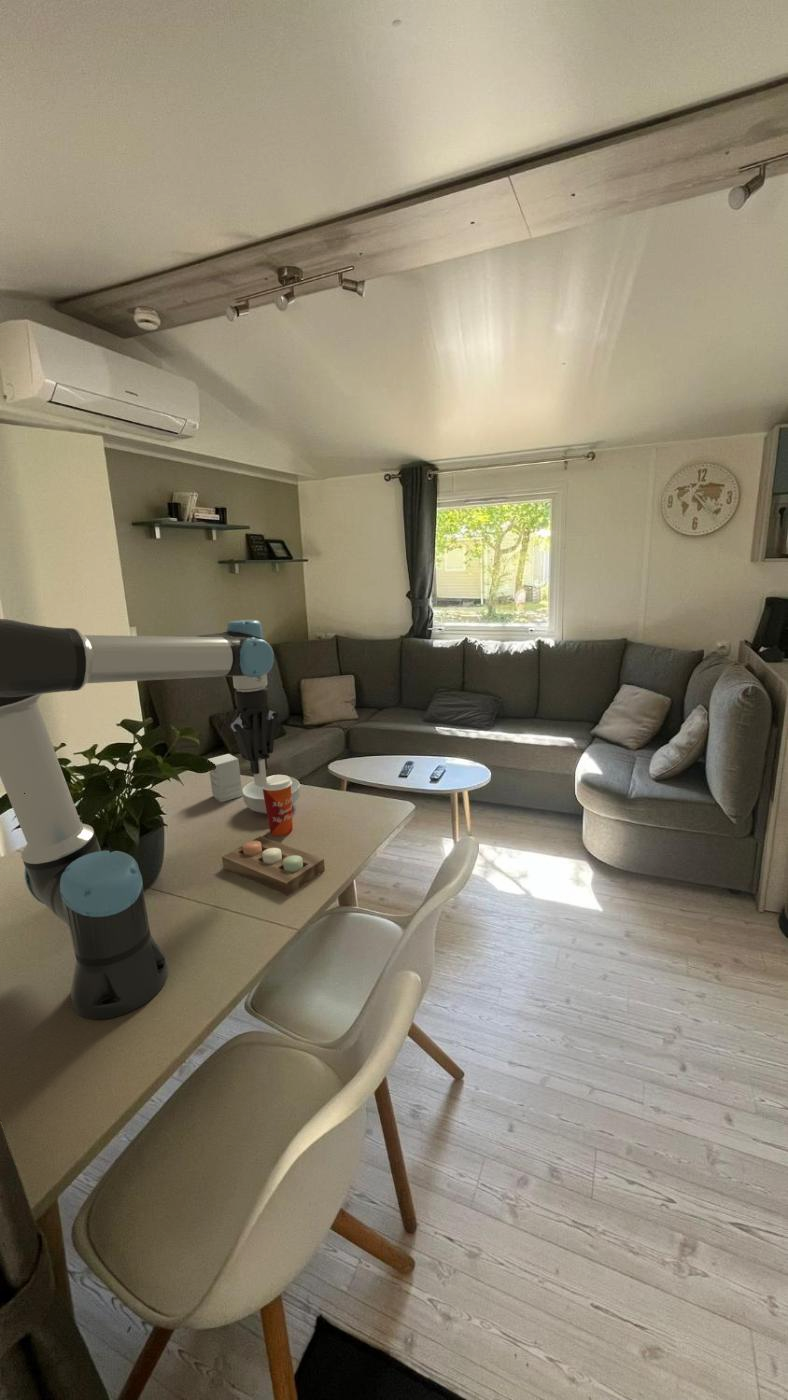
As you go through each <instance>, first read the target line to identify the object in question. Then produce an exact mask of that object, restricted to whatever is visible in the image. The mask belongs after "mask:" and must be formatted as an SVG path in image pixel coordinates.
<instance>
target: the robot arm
mask: <svg viewBox="0 0 788 1400" xmlns="http://www.w3.org/2000/svg"><path fill="white" fill-rule="evenodd" d="M226 626H227V627H226V631H225V632H224V631H223V632H216V633H207V634H201V635H200V634H199V635H196V634H194V635H192V636H174V635H171V636H169V635H167V636H166V635H165V636H164V635H161V636H160V635H159V636H158V635H150V636H149V635H108V634H107V635H104V634H103V635H97V634H96V635H95V634H89V635H88V634H82V632H80V631H79V630H78V629H77V628H73V627H71V628H69V627H52V626H46V625H39V624H38V625H37V624H31V623H28V622H27V623H26V622H23V621H22V622H21V621H17V620H13V619H12V620H11V619H5V618H0V779H1V783H2V785H3V787H4V790H5V792H6V795H7V797H8V799H9V802H10V805H11V808H12V809H13V811H14V815H15V816H16V818H17V822H18V824H19V827H20V829H21V831H22V834H23V836H24V838H25V839H24V840H25V841H26V845H25V847H24V848H23V850H22V851H21V856H20V857H21V860H22V863H23V864H24V880H25V881H24V882H25V884H26V887H27V889H28V890H29V893H30V894H31V896H33V897H34V899H35V900H37V901H38V902H39V903H40V904H42V905H44V906H45V907H46V908H48V909H49V910H50V911H51V912H52V913H53V914H55V916H56V917H58V918H59V919H60V920H61V921H62V922H63V923H65V924H66V926H67V927H68V929H69V930H68V931H69V933H70V937H71V943H72V946H73V951H74V957H75V966H74V970H73V975H72V977H73V978H72V984H71V987H70V988H71V989H70V998H71V1002H72V1007H73V1009H74V1011H75V1013H77V1014H78V1015H79V1016H80V1017H82V1018H86V1019H91V1020H106V1019H113V1018H116V1017H117V1018H118V1017H120V1016H123V1015H126V1014H129V1013H130V1012H131V1013H132V1012H133V1011H135V1010H137V1009H138V1008H140V1007H142V1006H143V1005H145V1004H146V1003H149V1002H150V1000H152V999H153V998H154V997H156V995H157V994H158V993H159V992H160V991H161V990H162V989H163V987H164V985H165V984H166V982H167V980H168V976H169V969H168V964H167V959H166V956H165V954H164V953H163V951H162V949H161V948H160V947H159V945H158V944H157V942H156V941H155V939H154V937H153V936H152V934H151V929H150V923H149V916H148V909H147V905H146V904H147V903H146V899H145V891H144V885H143V882H144V881H143V876H142V874H141V870H140V868H139V865H138V862H137V861H136V859H135V858H134V857H133V856H132V855H130V854H128V853H126V852H123V851H120V850H114V851H111V852H110V850H101V846H100V844H99V841H98V838H97V836H96V833H95V830H94V828H93V826H91V825H89V824H86V823H82V821H81V819H80V817H79V814H78V811H77V808H76V806H75V803H74V799H73V798H72V795H71V792H70V790H69V786H68V783H67V780H66V778H65V776H64V773H63V770H62V767H61V764H60V762H59V759H58V756H57V754H56V751H55V747H54V746H53V742H52V740H51V737H50V735H49V731H48V729H47V726H46V724H45V721H44V717H43V716H42V713H41V709H40V707H39V704H38V701H39V699H40V698H41V696H42V695H43V694H50V693H60V692H74V691H80V690H82V689H83V688H84V687H85V685H87V684H101V683H104V684H105V683H119V682H120V683H122V682H123V683H124V682H138V681H139V682H140V681H141V682H142V681H156V680H175V679H176V680H177V679H195V678H196V679H197V678H214V677H232V684H233V685H232V686H233V688H234V689H235V691H234V700H235V701H234V702H235V706H236V708H237V713H236V719H235V720H234V721H233V722H229V724H228V727H229V729H230V730H231V731H232V732H233V736H234V738H235V741H236V744H237V747H238V750H239V753H240V756H241V759H242V760H245V761H249V763H250V765H249V766H250V772H251V773H252V774H253V781H254V782H255V785H257V786H261V787H263V786H266V785H267V779H266V777H267V771H268V760H267V759H269V758H270V754H272V753H274V746H275V745H274V744H275V735H276V734H275V733H276V723H277V720H278V717H279V712H278V711H277V712H276V711H272V710H271V709H270V706H269V705H268V704H269V702H270V695H269V688H268V687H267V685H268V675H267V674H268V673H269V672H270V671H271V669H272V668H273V665H274V662H275V658H274V657H275V656H274V655H275V654H274V650H273V648H272V646H271V644H270V643H268V642H267V641H266V640H265V638H264V632H263V627H262V626H263V625H262V624H261V622H260V621H259V620H258V619H240V620H230V621H228V622H227V625H226ZM24 793H25V794H24Z"/></svg>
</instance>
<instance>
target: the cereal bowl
mask: <svg viewBox="0 0 788 1400" xmlns="http://www.w3.org/2000/svg"><path fill="white" fill-rule="evenodd" d="M289 778H290V780H291V781H292V785H291V794H292V806H294V805H295V804H296V803H297V801H298V800H299V798H300V796H301V795H300V794H301V784H300V781H298V780H297V779H296V778H295V777H291V776H289ZM242 795H243V796H242V799H243V803H244V804H245V806H246V807H247V808H249V809H250V810H251V811H254V812H255V813H256V812H257V813H262V814H266V815H267V811H266V806H265V800H264V794H263V789H262V788H261V786H257V785H255V782H254V780H253V781H251V782H249V783H248V784H245V786H244V787H242Z"/></svg>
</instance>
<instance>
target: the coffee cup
mask: <svg viewBox="0 0 788 1400" xmlns="http://www.w3.org/2000/svg"><path fill="white" fill-rule="evenodd" d="M289 777H290V776H288V775H285V774H274V775H270V776H266V779H267V785H266V786H263V787H261V788H262V789H263V794H264V800H265V806H266V811H267V814H266V817H267V822H268V827H269V832H270V834H271V835H272V836H275V837H283V836H287V835H289V834H291V833H292V832H293V805H292V794H291V785H292V781H291V780H290V778H289Z"/></svg>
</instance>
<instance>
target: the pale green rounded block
mask: <svg viewBox="0 0 788 1400" xmlns="http://www.w3.org/2000/svg"><path fill="white" fill-rule="evenodd" d="M283 866H284V870H285V871H287V872H290V873H292V874H294V873H295V872H297V871H299V870H300V869H302V868H303V860H302V857H301V856H297V855H293V856H289V857H287V858H285V859H284V860H283Z"/></svg>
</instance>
